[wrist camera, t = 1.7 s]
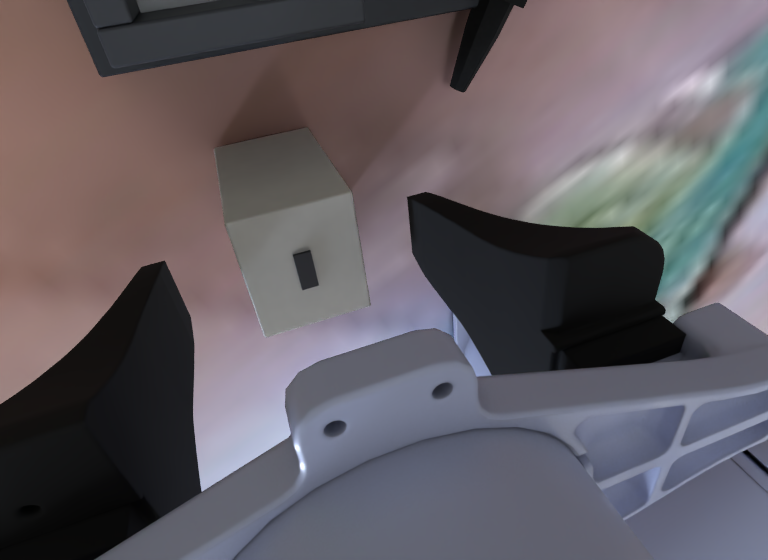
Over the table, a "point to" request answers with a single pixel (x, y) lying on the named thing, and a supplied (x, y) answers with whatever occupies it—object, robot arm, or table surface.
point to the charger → (291, 230)
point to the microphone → (480, 38)
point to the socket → (208, 24)
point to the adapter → (381, 5)
